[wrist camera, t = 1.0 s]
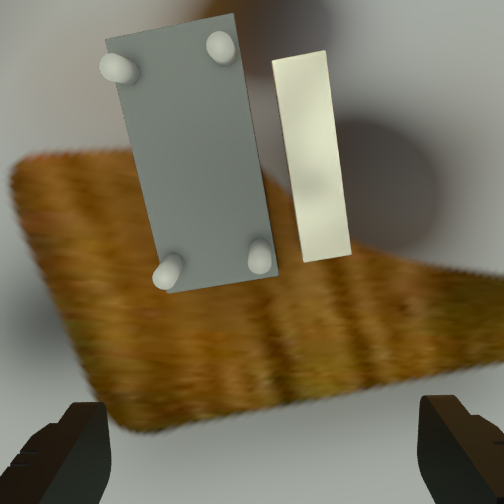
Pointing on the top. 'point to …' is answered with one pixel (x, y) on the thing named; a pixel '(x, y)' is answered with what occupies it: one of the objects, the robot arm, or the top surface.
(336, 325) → the top surface
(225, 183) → the grey pegged tray
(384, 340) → the top surface
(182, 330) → the top surface
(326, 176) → the clay strip
